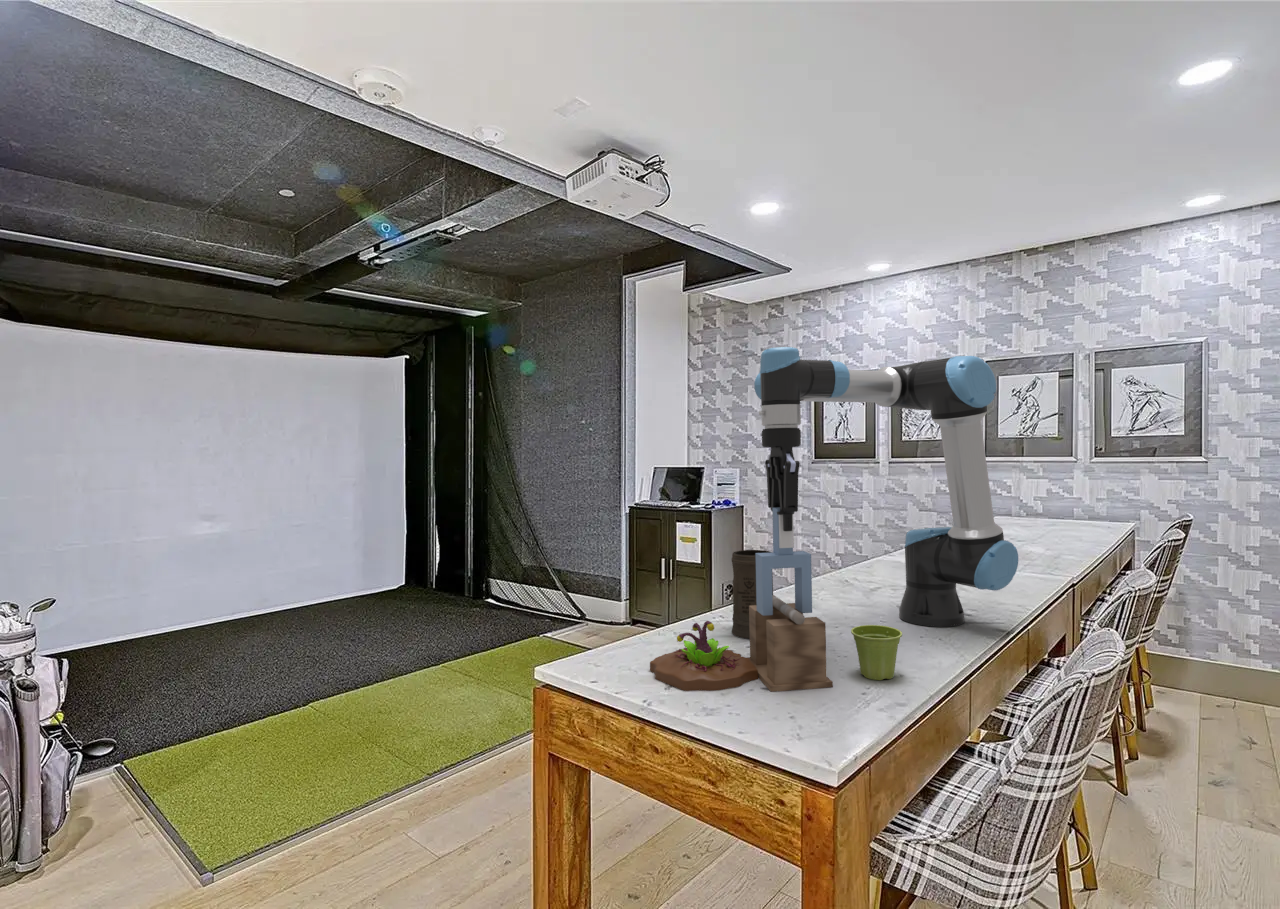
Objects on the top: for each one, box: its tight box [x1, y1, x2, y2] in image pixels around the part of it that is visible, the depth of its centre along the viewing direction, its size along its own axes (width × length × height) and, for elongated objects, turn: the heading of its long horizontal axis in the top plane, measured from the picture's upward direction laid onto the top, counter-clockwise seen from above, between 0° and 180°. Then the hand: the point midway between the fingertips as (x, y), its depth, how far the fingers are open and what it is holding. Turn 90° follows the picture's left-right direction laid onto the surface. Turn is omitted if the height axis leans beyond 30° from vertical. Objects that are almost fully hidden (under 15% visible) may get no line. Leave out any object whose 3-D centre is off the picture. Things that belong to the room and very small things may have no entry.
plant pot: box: [850, 624, 903, 681], centre depth 133 cm, size 9×9×9 cm
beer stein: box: [731, 549, 774, 640], centre depth 166 cm, size 15×11×20 cm
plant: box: [649, 620, 759, 692], centre depth 137 cm, size 20×20×11 cm
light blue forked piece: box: [756, 507, 813, 616], centre depth 135 cm, size 10×4×20 cm, turn 97°
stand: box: [746, 594, 834, 693], centre depth 135 cm, size 12×17×14 cm
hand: (783, 545), depth 135 cm, fingers closed on light blue forked piece, 3 cm apart
